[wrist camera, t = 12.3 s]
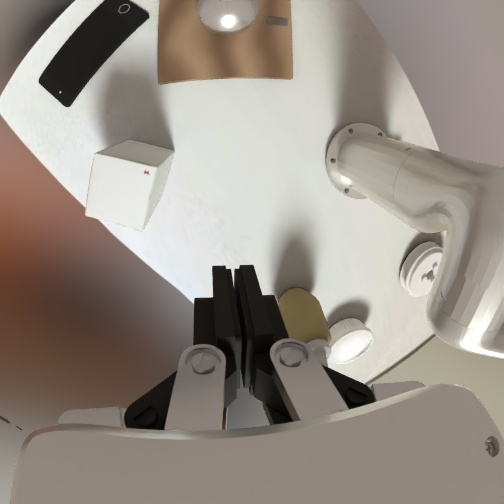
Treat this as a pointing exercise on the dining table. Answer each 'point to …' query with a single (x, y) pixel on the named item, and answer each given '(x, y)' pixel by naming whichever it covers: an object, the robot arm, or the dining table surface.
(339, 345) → the ramekin
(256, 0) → the square-handled spoon
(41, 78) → the cell phone
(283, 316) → the squeeze bottle
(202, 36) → the post base
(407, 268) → the lid
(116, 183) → the supplement box
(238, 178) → the dining table surface
